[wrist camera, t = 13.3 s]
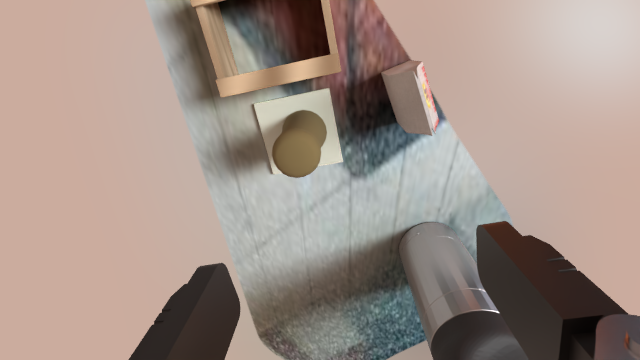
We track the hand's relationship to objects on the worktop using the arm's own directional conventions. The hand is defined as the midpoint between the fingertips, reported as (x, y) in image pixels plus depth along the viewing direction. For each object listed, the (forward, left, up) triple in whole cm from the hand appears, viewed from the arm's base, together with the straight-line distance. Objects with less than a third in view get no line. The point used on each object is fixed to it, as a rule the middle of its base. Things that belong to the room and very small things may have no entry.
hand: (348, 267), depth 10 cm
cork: (+2, +5, -33) cm, 33 cm away
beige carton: (-6, -6, -33) cm, 34 cm away
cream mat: (+2, +6, -33) cm, 34 cm away
